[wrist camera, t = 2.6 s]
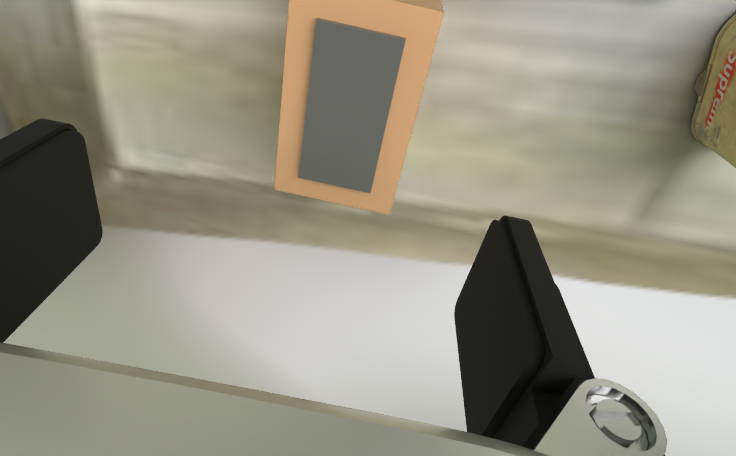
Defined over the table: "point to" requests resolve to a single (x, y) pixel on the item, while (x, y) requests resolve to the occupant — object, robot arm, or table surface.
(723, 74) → the lighter
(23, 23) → the table surface
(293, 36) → the chute block
